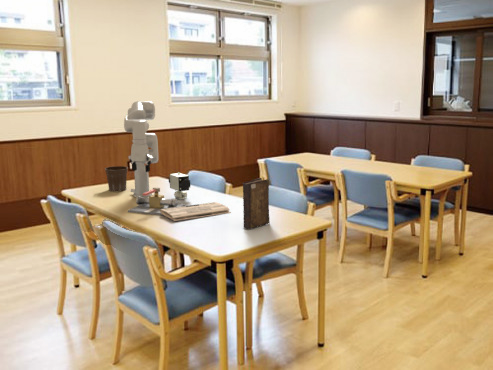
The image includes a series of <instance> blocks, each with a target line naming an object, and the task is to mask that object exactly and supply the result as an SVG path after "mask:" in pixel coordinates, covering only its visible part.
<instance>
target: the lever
mask: <svg viewBox="0 0 493 370" xmlns="http://www.w3.org/2000/svg"><path fill="white" fill-rule="evenodd" d="M154 192H158V193H160V192H161V187H152V189H151V190H150V189H149V191H148V192H145V193H143V196H147V195H149V194H151V193H152V194H153V193H154Z"/></svg>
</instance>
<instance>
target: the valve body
mask: <svg viewBox="0 0 493 370" xmlns="http://www.w3.org/2000/svg"><path fill="white" fill-rule="evenodd" d="M135 198H136V199H135V202H136V204H137V206H138V207H144V206H146V205H147V204H149V208H157V209H160V208H162V207H164V205H165V206H168V208H174V207H177V204H179V203H178V200H179V199H178V198H176V197H174V198H172V199H170V198H169V199H168V198H165V195H163V194H159V192H154V194H152V195H151V196H148V197H142V196H137V197H135Z"/></svg>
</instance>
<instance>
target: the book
mask: <svg viewBox="0 0 493 370" xmlns="http://www.w3.org/2000/svg"><path fill="white" fill-rule="evenodd" d="M269 187H270V178H266V179H263V177H258V178H256V179H251V180H249V181H248V180H247V181H244V182H243V183H242V199H243V203H242V206H243V218H242V219H243V229H247V230H254V229H256V228H259V227H262V226H266V225H265V224H267V225H269V224H270V203H269V202H270V201H269V200H270V199H269V198H270V197H269V196H270V195H269V192H270V190H269ZM268 223H269V224H268Z"/></svg>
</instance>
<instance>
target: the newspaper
mask: <svg viewBox="0 0 493 370" xmlns="http://www.w3.org/2000/svg"><path fill="white" fill-rule="evenodd" d="M160 213H162V214H163V215H162V216H165V217H166V218H168V219H170V220H171V221H174V222H177V221H184V220H192V219H197V218H198V219H199V218H202V217H203V218H205V217H210V216H218V215H223V214H230V213H231V211H230V208H229V207H228V206H226V205H224V204H223V203H220V202H216V201H214V202H207V203H199V204H191V205H185V206H182V207H174V208H167V209H160Z"/></svg>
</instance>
